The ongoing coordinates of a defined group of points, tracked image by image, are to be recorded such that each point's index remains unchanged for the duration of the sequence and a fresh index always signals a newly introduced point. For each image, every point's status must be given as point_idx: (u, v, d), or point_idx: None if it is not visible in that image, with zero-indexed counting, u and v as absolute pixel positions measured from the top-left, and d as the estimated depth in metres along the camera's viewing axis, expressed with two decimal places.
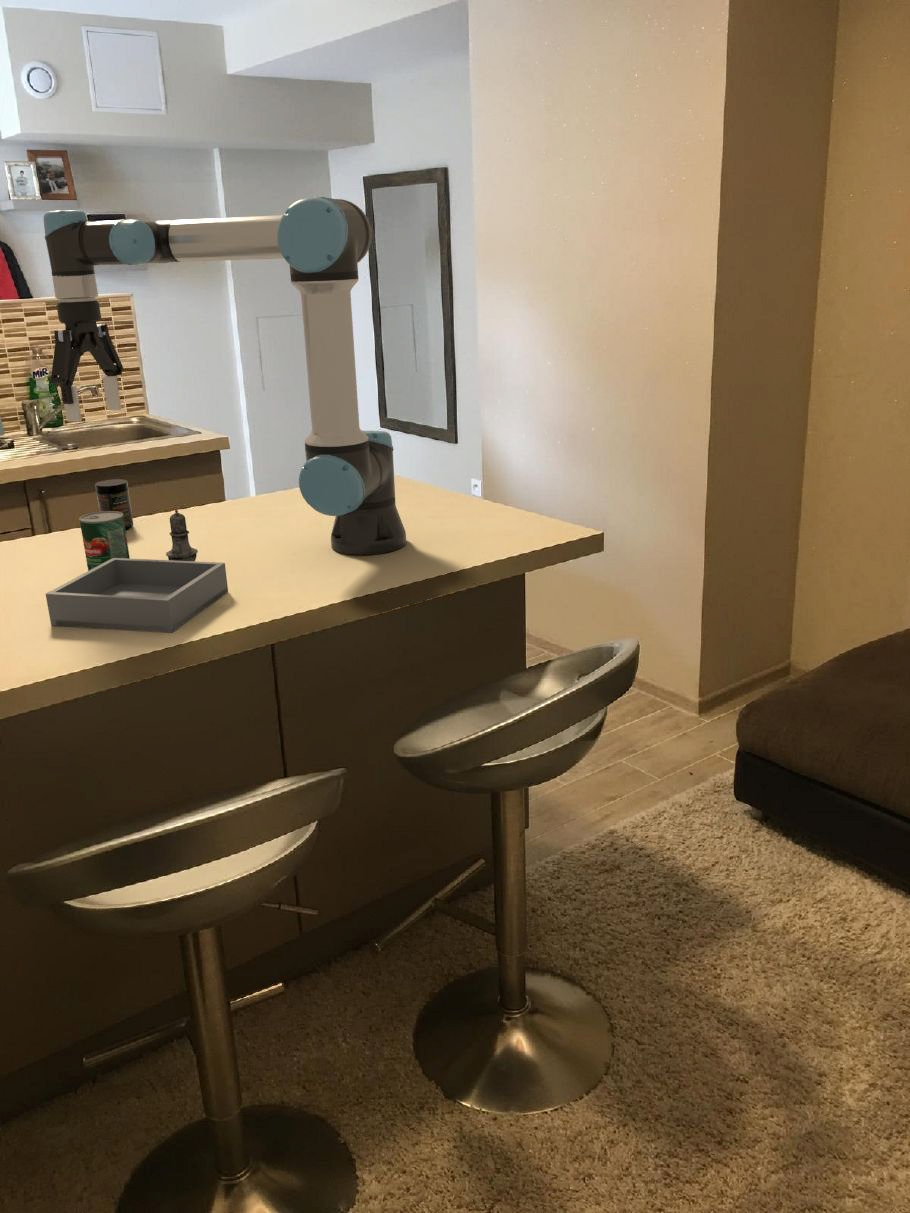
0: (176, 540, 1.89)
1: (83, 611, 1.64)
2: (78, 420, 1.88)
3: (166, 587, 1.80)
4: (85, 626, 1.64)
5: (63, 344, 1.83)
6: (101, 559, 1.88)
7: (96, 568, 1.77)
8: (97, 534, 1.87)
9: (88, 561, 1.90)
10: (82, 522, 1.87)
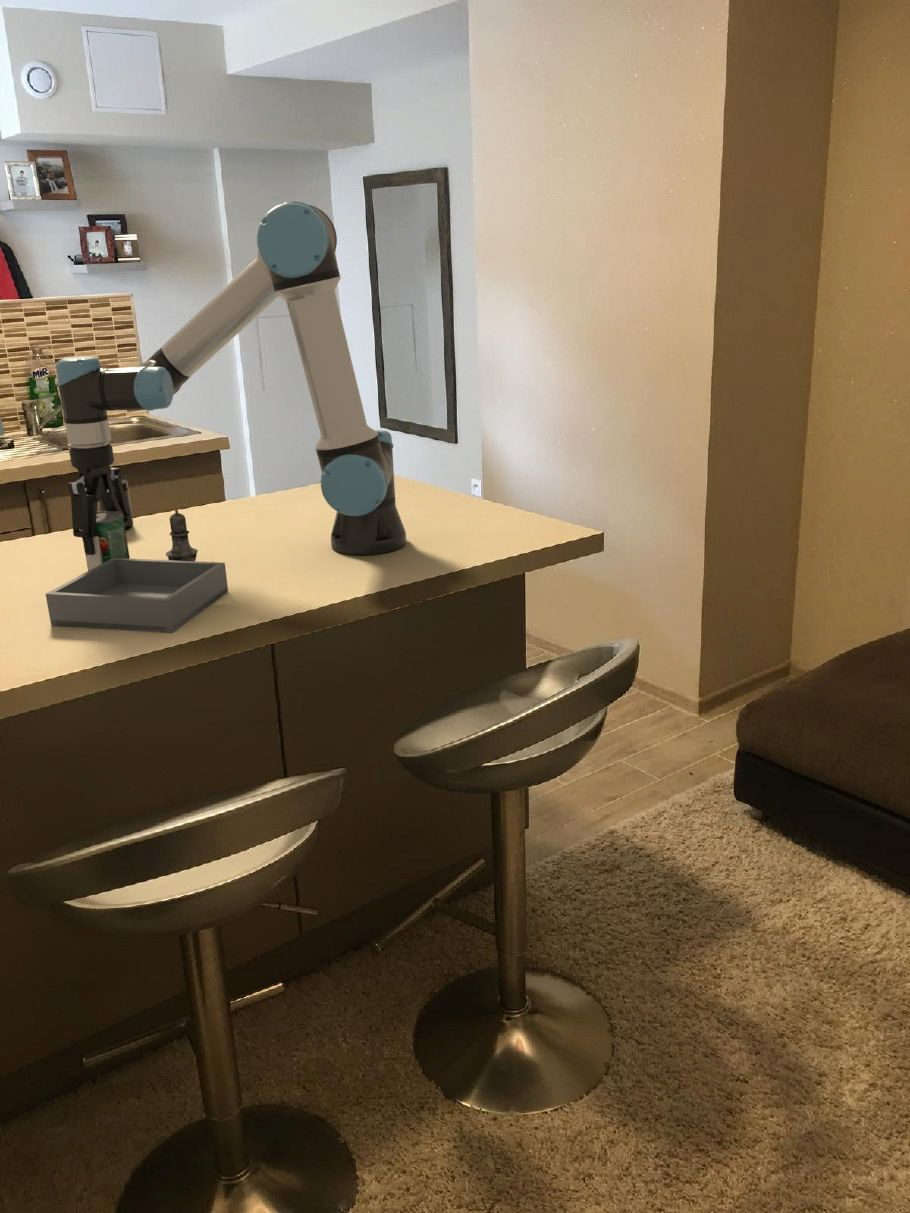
0: (176, 540, 1.89)
1: (83, 611, 1.64)
2: None
3: (166, 587, 1.80)
4: (85, 626, 1.64)
5: (79, 497, 1.82)
6: None
7: (96, 568, 1.77)
8: (97, 534, 1.87)
9: None
10: None
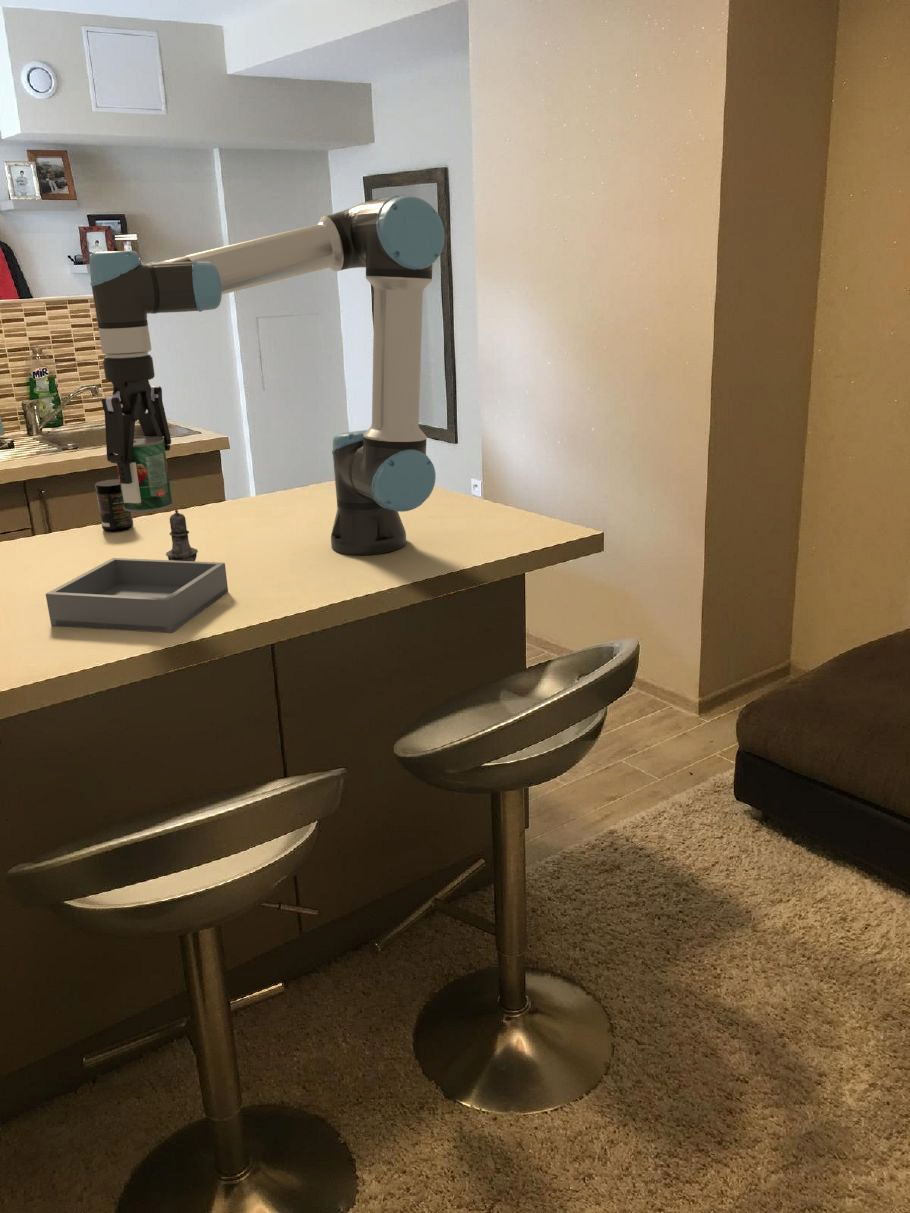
0: (176, 540, 1.89)
1: (83, 611, 1.64)
2: (137, 502, 1.62)
3: (166, 587, 1.80)
4: (85, 626, 1.64)
5: (114, 415, 1.56)
6: None
7: (96, 568, 1.77)
8: (134, 460, 1.61)
9: None
10: None
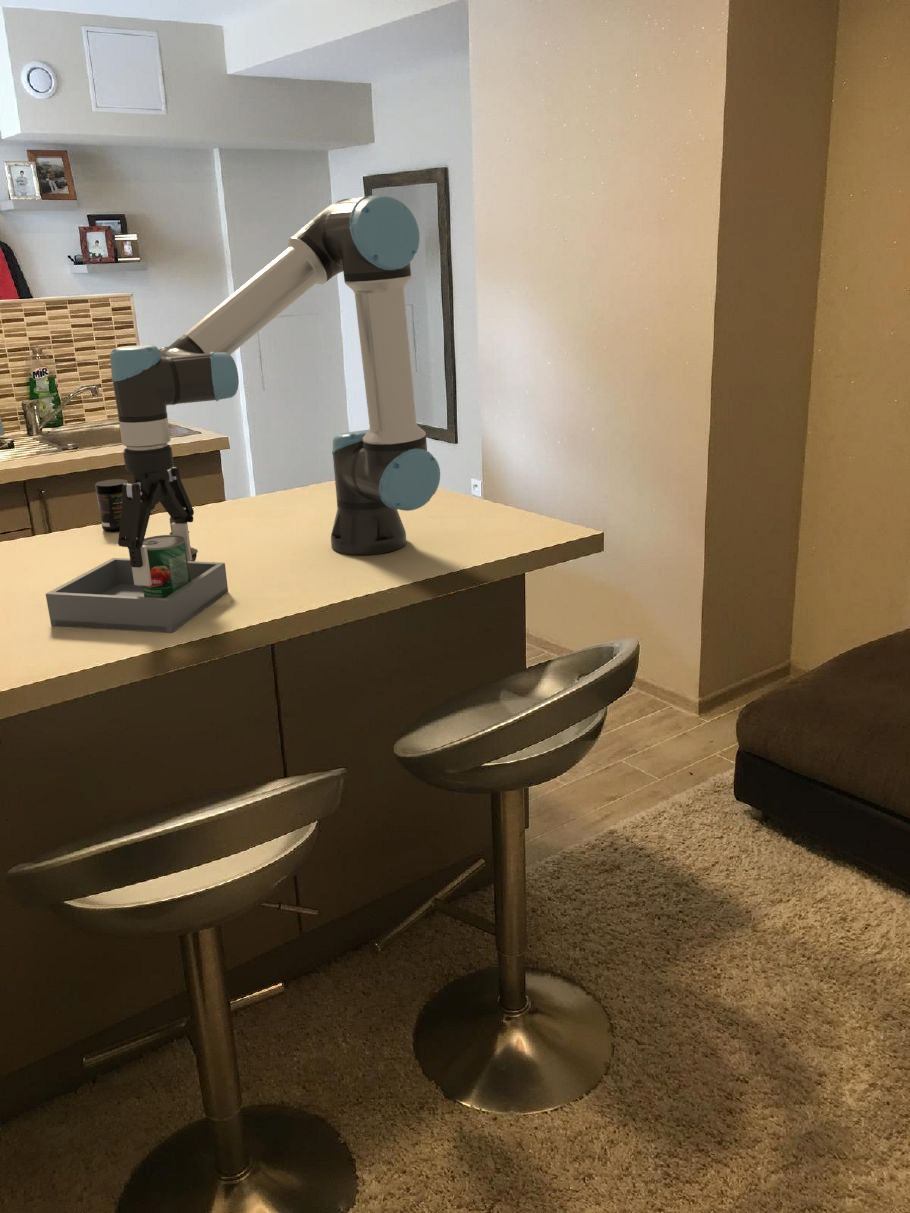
0: None
1: (83, 611, 1.64)
2: (148, 584, 1.62)
3: None
4: (85, 626, 1.64)
5: (132, 501, 1.58)
6: (161, 590, 1.66)
7: (96, 568, 1.77)
8: (158, 562, 1.65)
9: (146, 592, 1.68)
10: None
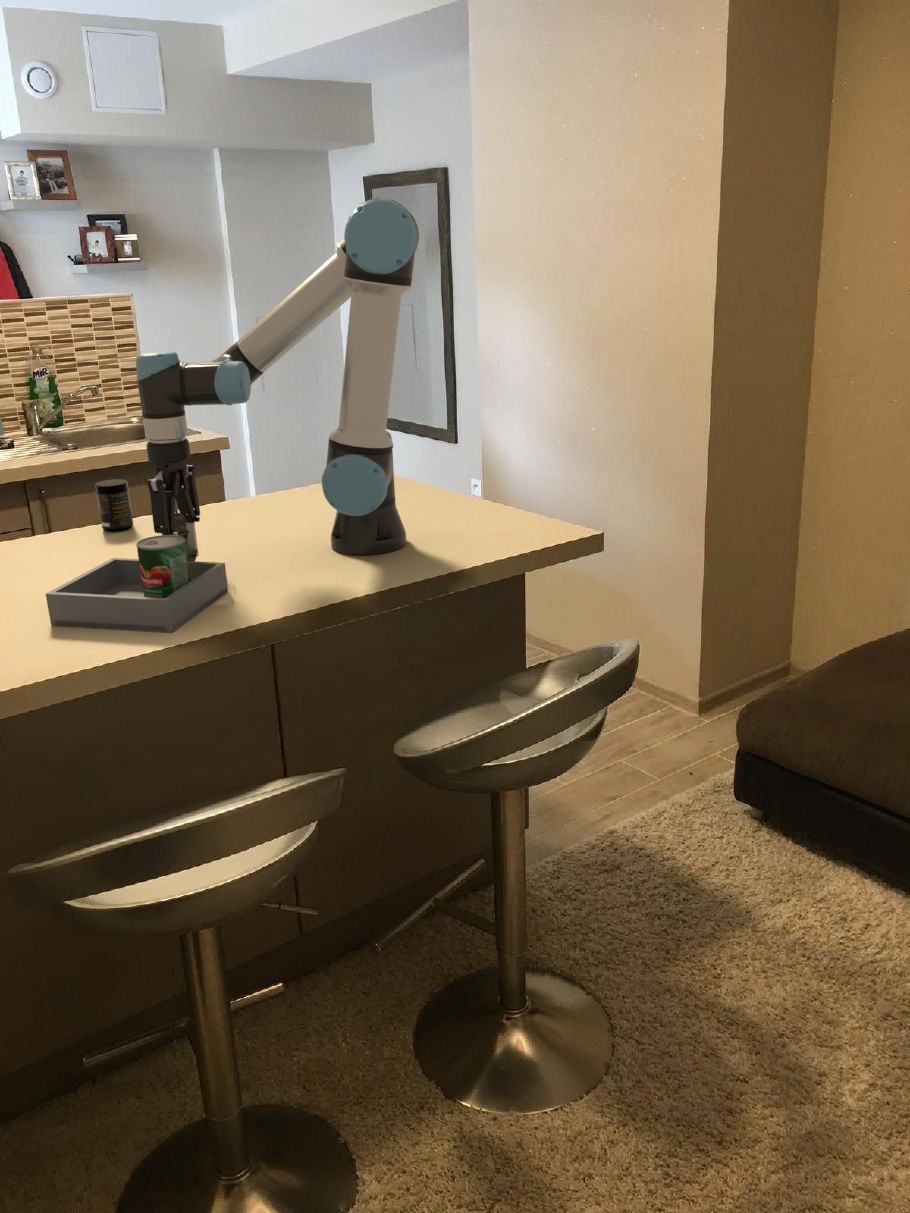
0: None
1: (83, 611, 1.64)
2: None
3: None
4: (85, 626, 1.64)
5: (158, 494, 1.81)
6: (162, 591, 1.66)
7: (96, 568, 1.77)
8: (158, 562, 1.65)
9: (146, 592, 1.68)
10: (140, 548, 1.65)
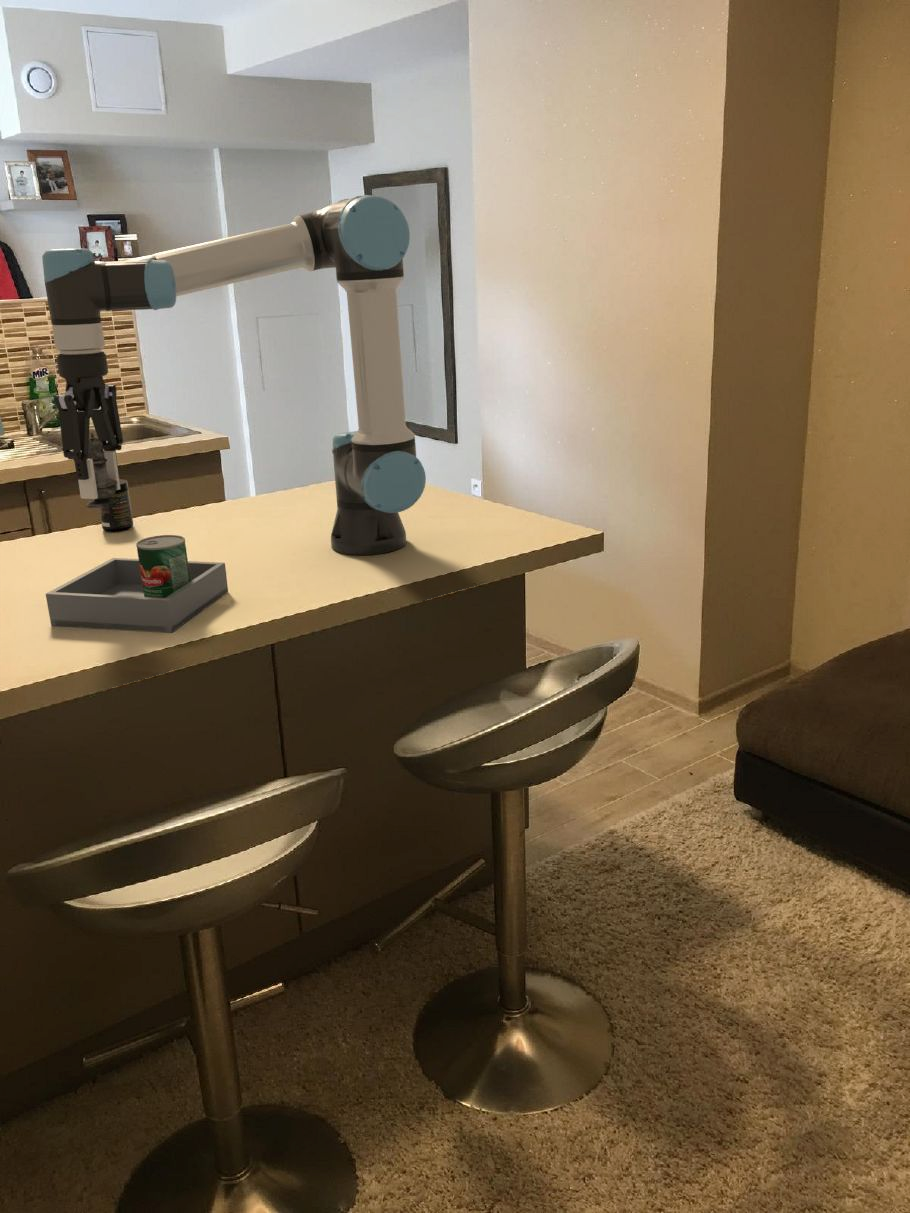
0: None
1: (83, 611, 1.64)
2: (94, 497, 1.65)
3: None
4: (85, 626, 1.64)
5: (68, 412, 1.58)
6: (162, 590, 1.66)
7: (96, 568, 1.77)
8: (158, 562, 1.65)
9: (146, 592, 1.68)
10: (140, 548, 1.65)
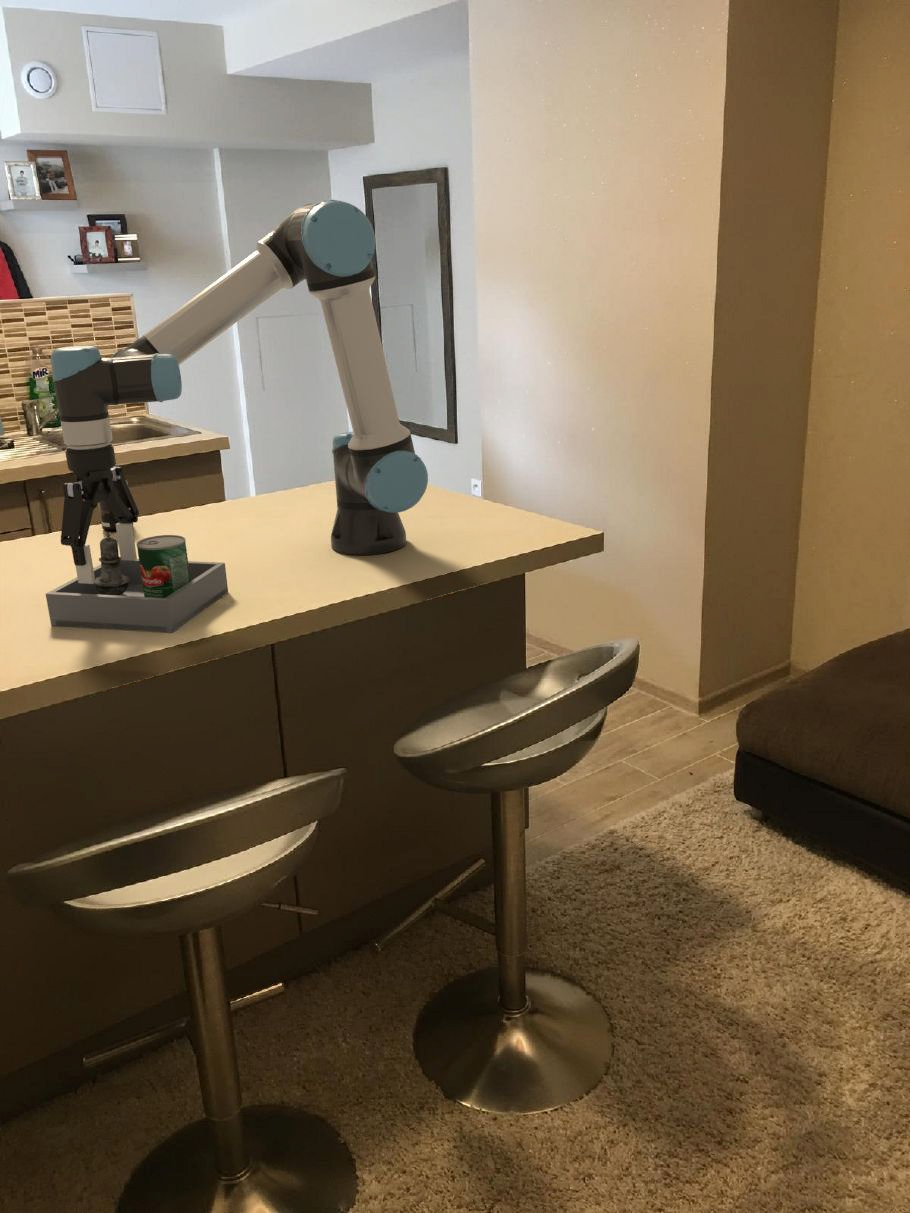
0: (105, 567, 1.70)
1: (83, 611, 1.64)
2: (91, 582, 1.65)
3: None
4: (85, 626, 1.64)
5: (73, 500, 1.60)
6: (162, 590, 1.66)
7: (96, 568, 1.77)
8: (158, 562, 1.65)
9: (146, 592, 1.68)
10: (141, 548, 1.65)
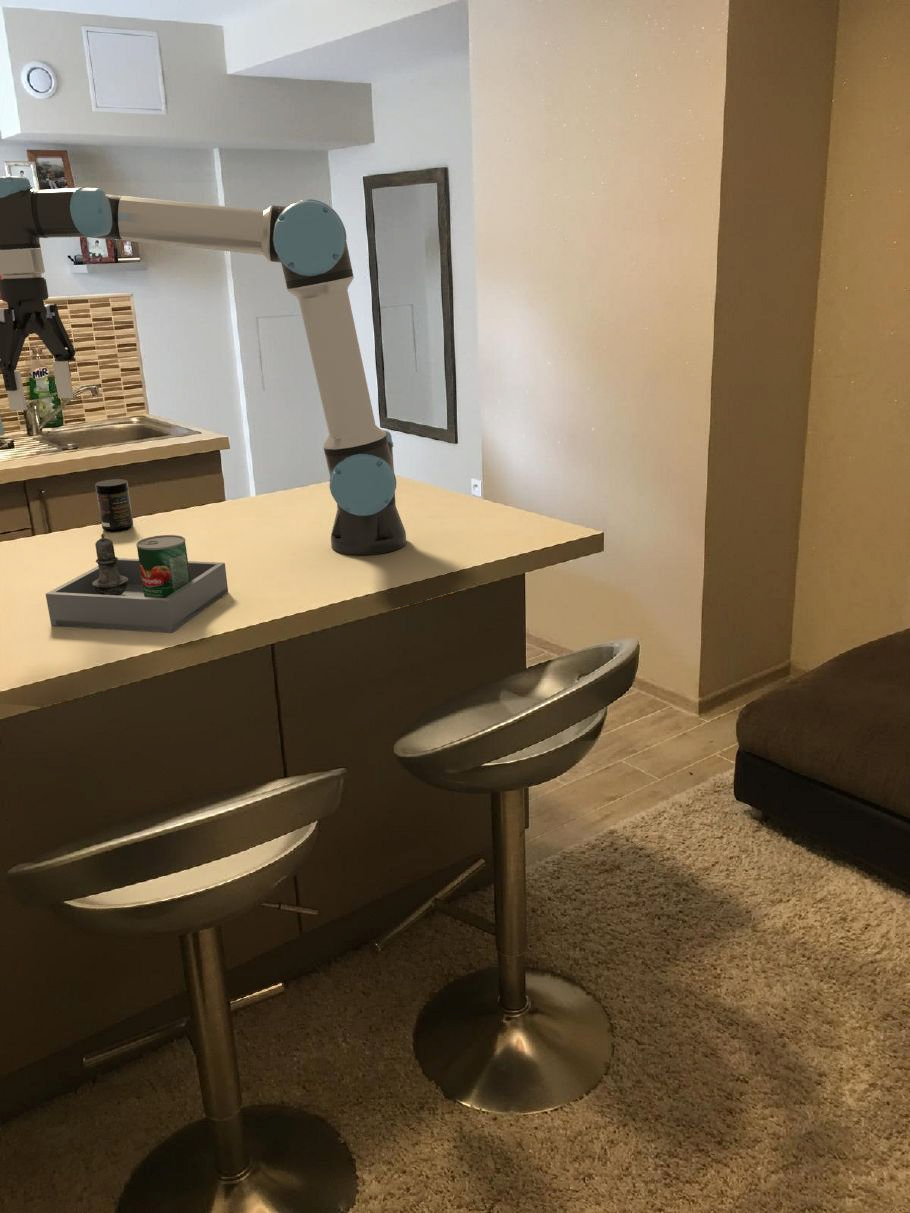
0: (102, 568, 1.70)
1: (83, 611, 1.64)
2: (22, 409, 1.71)
3: None
4: (85, 626, 1.64)
5: (4, 325, 1.66)
6: (162, 590, 1.66)
7: (96, 568, 1.77)
8: (158, 562, 1.65)
9: (146, 592, 1.68)
10: (141, 548, 1.65)
